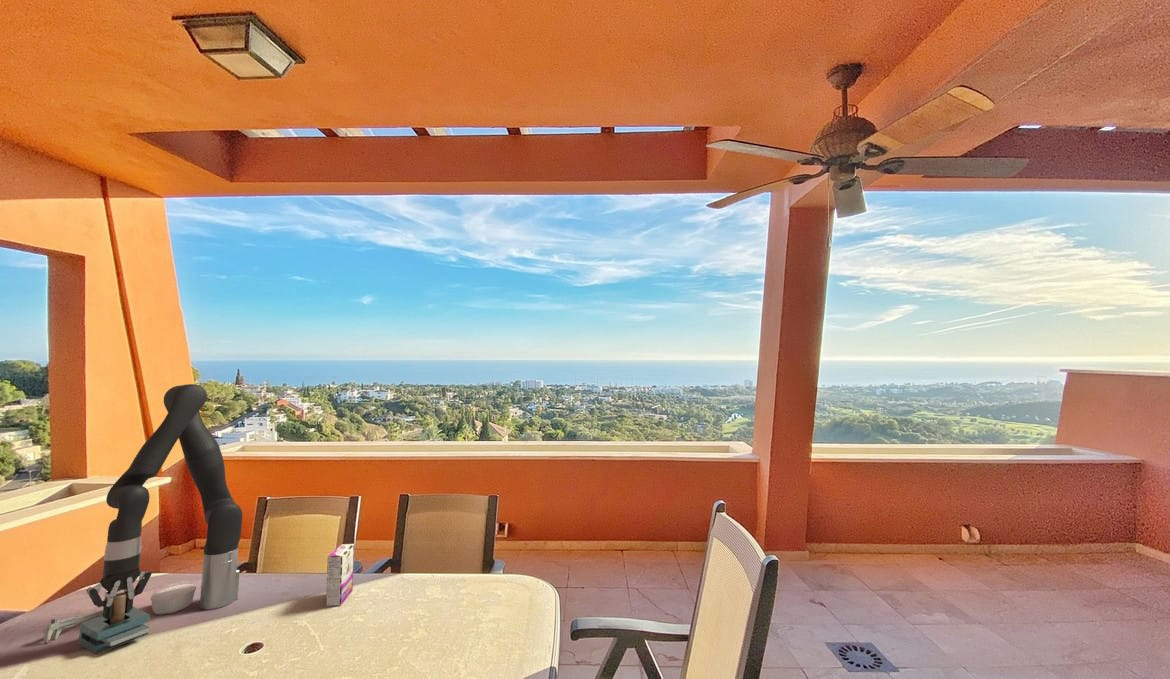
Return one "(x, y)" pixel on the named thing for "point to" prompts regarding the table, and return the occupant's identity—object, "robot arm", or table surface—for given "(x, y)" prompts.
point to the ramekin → (172, 599)
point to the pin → (118, 608)
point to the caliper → (66, 624)
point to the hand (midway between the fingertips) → (117, 615)
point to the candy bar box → (339, 575)
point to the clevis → (113, 631)
